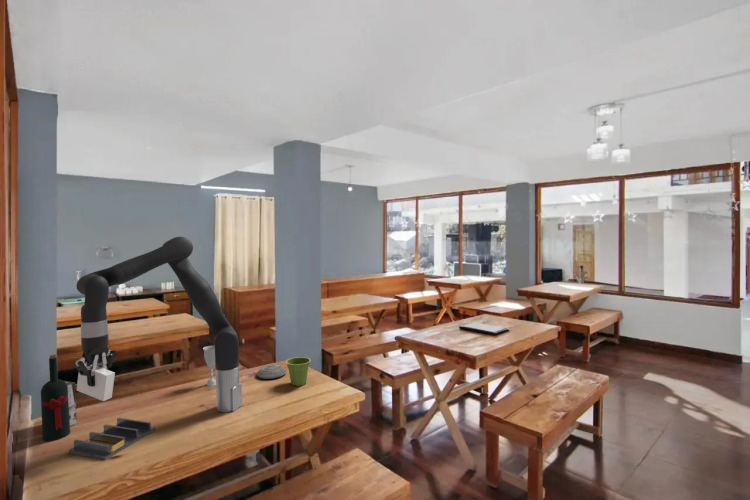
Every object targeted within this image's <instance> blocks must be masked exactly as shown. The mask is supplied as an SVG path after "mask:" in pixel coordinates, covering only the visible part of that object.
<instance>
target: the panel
mask: <svg viewBox="0 0 750 500" xmlns="http://www.w3.org/2000/svg"><path fill="white" fill-rule="evenodd" d="M84 365H85V366H86V362H85V364H84ZM91 366H92V365H91ZM90 372H91V369H90ZM94 375H95V386H93V387H91V386H89V385H88V384H87V376H83V375H80V373H79V372H78V375H77V384H76V391H77V392H80V393H82V394H84V395H87V396H89V397H92V398H94V399H97V400H99V401H102V402H104V401H107V400H110V399H111V398H112V397H113V391H114V390H113V389H114V383H115V376H116V372H114V371H112V370H109V369H104V368H101V367H98V366H97V367H96V368H95V374H94Z"/></svg>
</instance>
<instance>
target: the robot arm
mask: <svg viewBox="0 0 750 500" xmlns="http://www.w3.org/2000/svg"><path fill="white" fill-rule="evenodd" d="M193 250H194V245H193V242H192V241H191V240H190V239H189V238H187V237H184V236H175V237H173V238H171V239H170V238H169V240H167V241H165V242H164V243H163V244H162V245H161V246H159V247H157V248H156V249H153V250H151V251H147V252H146V253H143V254H140V255H137V256H134V257H132V258H129V259H126V260H124V261H121V262H119V263H117V264H114V265H112V266H110V267H107V268H104V269H100V270H96V271H94V272H90V273H87V274H85V275H84V276H81V277H80V278H79V279H78V280H77V282H76V285H75V287H76V290H77V291H78V292H79V293H80V294H81V295H84V304H83V305H82V306H81V308H80V320H81V321H80V322H81V324H80V339H81V341H80V346H81V350H82V355H81V357H80V358H79V359H77V360H74V361H73V365H74V366H75V368H76V369H77V372H78V374H79V373H80V375H83V376H87V384H88V385H89V386H91V387H93V386H95V375H94V374H95V368H96V367H97V366H98V367H101V368H104V369H107V370H109V369H110V368H112V366H113V362H114V359H115V357H116V353H117V350H115V349H109V345H110V341H109V324H108V318H107V317H108V316H107V314H108V313H107V304H108V300H109V299H108V298H109V293H110V287H112V286H119V285H122V284H125V283H127V282H130V281H132V280H135V279H136V278H139V277H140V276H142V275H145V274H147V273H149V272H150V271H152V270H154V269H156V268H159V267H161V266H163V265H165V264H168V265H169V267H170V268H171V269H172V271H173V273H175V275H176V277H177V278H178V280H179V282H180V285H181V286H182V288H183V290H184V291H185V293H186V295H187V297H188V299H189V301H190V303H191V304H192V306H193V307H194V309H195V310H196V312H197V313H198V314H199V315H200V317H201V318H203V320H204V322H206V324H207V326H208V327H209V330H210V332H211V335H212V336H213V339H214V346H215V365H214V367H215V368H214V369H215V379H216V385H215V395H216V396H215V399H216V411H218V412H222V413H228V412H229V413H230V412H235V411H237V409H239V408H240V407H242V406H243V395H242V394H243V392H242V391H243V390H242V389H243V388H242V383H241V382H240V345H239V344H240V343H239V342H240V341H239V337H238V333H237V331H236V330H235V329H234V327H233V326H232V325H231V323H230V322H229V320H228V319H227V318H226V316H225V314H224V311H223V310H222V306H221V303H220V302H219V300H218V298H217V295H216V294H215V292H214V289H213V288H212V286H211V285H210V283H209V282H208V280H207V279H206V278H204V277H203V275H201V274H200V273H199V272H198V271H196V270H195V268H194V267H193V265H192V263H191V262H190V259H189V257H190V256H191V255H192V253H193ZM85 363H86V366H85V365H84V364H85ZM91 365H92V366H91ZM90 369H91V372H90Z"/></svg>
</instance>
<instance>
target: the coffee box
mask: <svg viewBox="0 0 750 500" xmlns="http://www.w3.org/2000/svg"><path fill="white" fill-rule="evenodd" d="M64 381H65V382H66V383H67V385H68V402H69V419H70V427H71V426H74V425H75V424H77V421H78V420H77V419H78V417H77V400H76V398H77V396H76V382H75V381H74V382H73V381H68V380H67V381H66V380H64ZM43 386H44V385H43ZM43 386H41V388H42V387H43Z"/></svg>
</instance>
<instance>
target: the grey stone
mask: <svg viewBox="0 0 750 500" xmlns="http://www.w3.org/2000/svg"><path fill="white" fill-rule="evenodd" d="M285 374H287V369H286V368H285V367H284V366H282V365H279V364H269V365H265V366H263V367H261V368H259V369H258V371H257V372H256V374H255V375H256V376H257V377H258V378H260V379H265V380H269V379H270V380H271V379H272V380H273V379H276V378H280V377H283V376H284V375H285Z"/></svg>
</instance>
